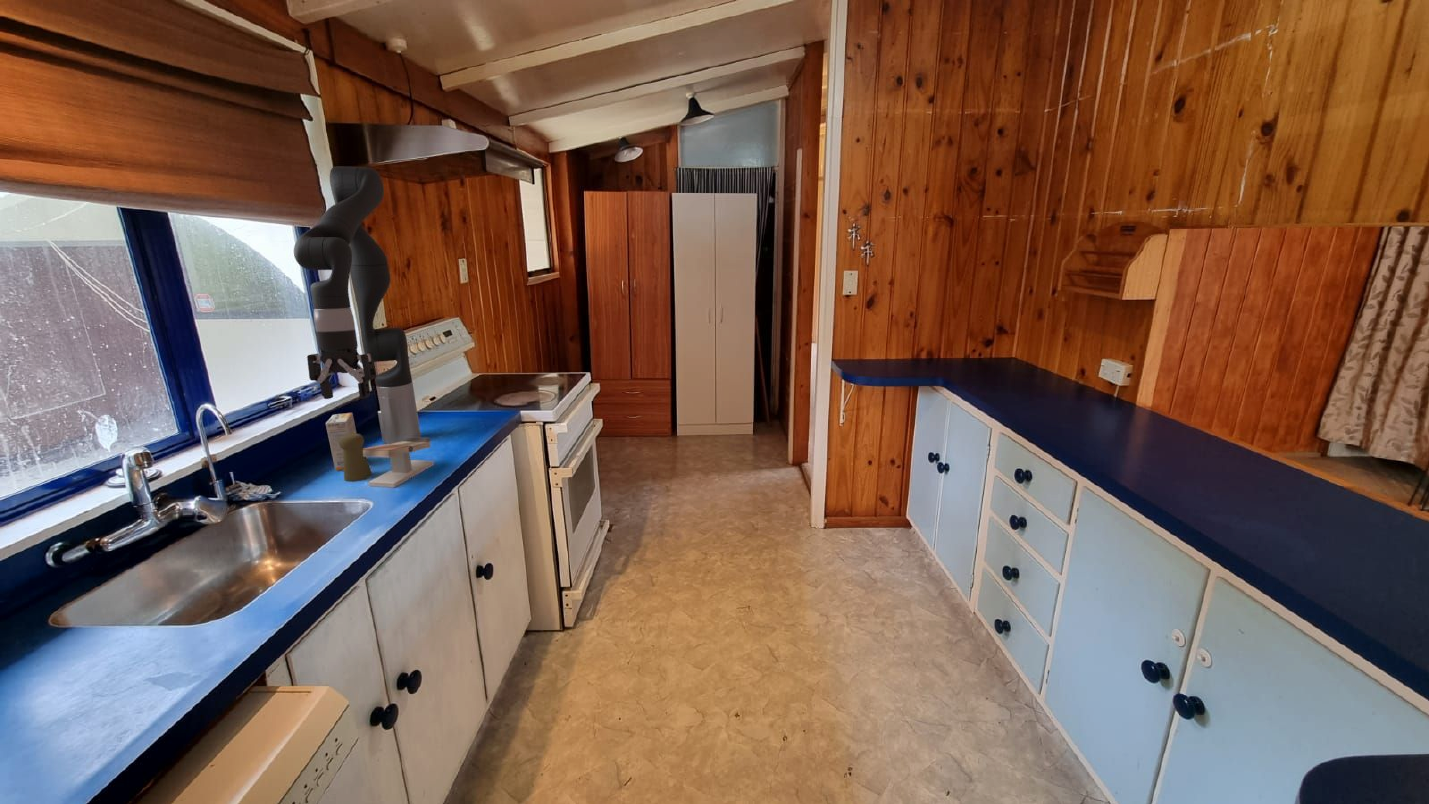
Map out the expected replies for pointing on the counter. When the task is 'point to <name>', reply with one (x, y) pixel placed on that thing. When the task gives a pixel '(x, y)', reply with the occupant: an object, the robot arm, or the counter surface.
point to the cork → (354, 458)
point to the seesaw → (398, 447)
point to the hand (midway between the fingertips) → (346, 398)
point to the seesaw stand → (400, 471)
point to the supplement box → (339, 435)
